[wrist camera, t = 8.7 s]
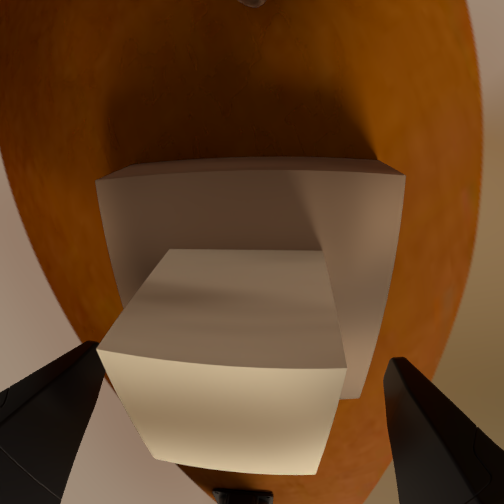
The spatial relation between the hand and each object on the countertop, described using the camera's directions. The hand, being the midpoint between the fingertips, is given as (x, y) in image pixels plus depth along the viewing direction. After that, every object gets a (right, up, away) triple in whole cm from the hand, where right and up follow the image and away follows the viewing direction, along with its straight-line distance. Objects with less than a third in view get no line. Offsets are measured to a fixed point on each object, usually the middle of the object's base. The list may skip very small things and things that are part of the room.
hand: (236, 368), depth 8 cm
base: (+1, +2, +5) cm, 6 cm away
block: (0, +1, +3) cm, 3 cm away
